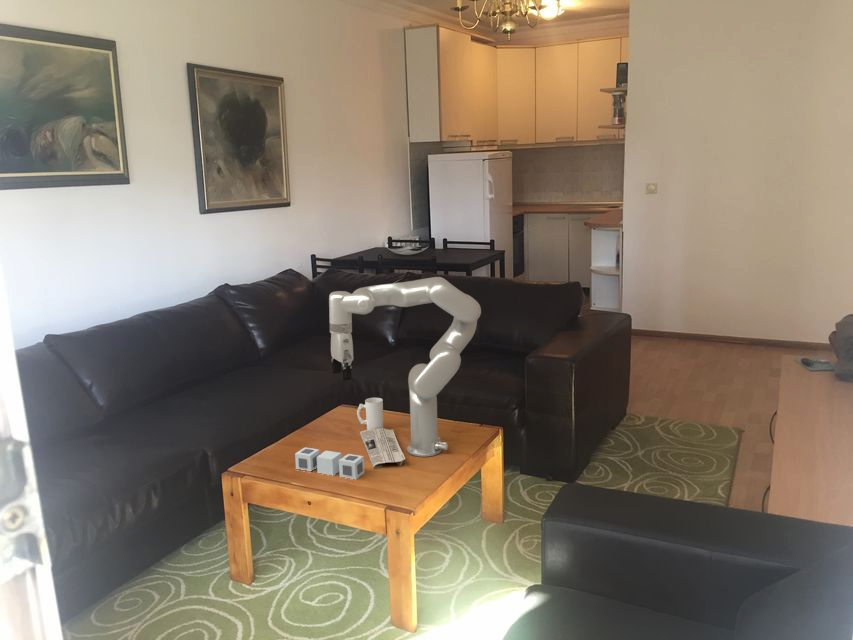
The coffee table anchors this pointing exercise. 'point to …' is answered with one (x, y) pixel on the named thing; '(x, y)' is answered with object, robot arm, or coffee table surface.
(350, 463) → the marked block near
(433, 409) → the robot arm
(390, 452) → the newspaper
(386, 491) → the coffee table surface
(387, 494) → the coffee table surface
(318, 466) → the plain block
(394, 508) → the coffee table surface
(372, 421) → the mug
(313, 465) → the marked block far
